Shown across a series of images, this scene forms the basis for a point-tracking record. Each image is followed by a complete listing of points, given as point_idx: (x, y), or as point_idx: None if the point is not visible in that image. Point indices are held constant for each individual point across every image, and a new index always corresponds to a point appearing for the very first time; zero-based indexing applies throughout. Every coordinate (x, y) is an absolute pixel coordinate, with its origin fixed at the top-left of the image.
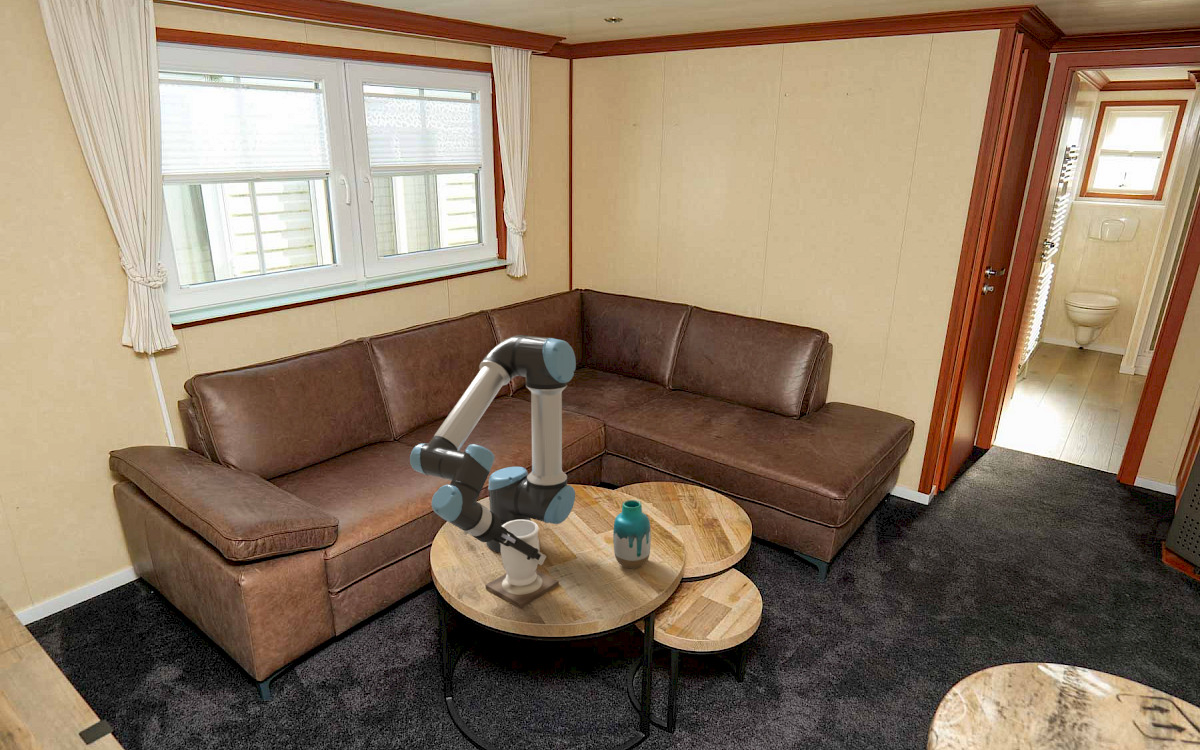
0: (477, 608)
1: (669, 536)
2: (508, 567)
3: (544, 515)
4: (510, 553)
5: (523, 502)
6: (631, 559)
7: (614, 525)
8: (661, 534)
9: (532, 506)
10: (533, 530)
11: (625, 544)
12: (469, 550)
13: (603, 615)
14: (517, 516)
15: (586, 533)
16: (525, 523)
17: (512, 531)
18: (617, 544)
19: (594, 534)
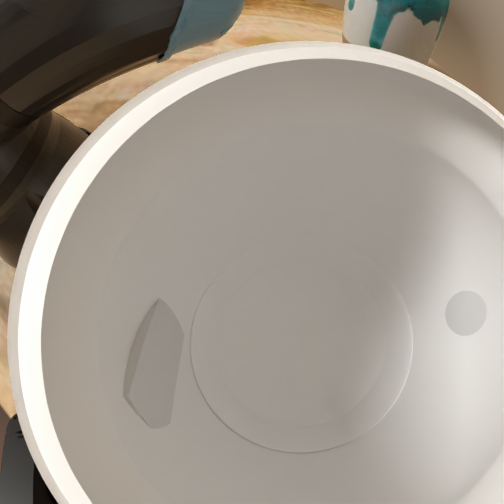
0: None
1: (322, 4)
2: (330, 448)
3: (177, 15)
4: (404, 486)
5: (10, 46)
6: (424, 64)
7: None
8: (308, 5)
9: (76, 16)
10: (326, 130)
11: (431, 35)
12: (7, 322)
13: None
14: (22, 136)
15: (191, 56)
16: (212, 112)
17: (123, 290)
18: (407, 38)
19: (209, 48)
